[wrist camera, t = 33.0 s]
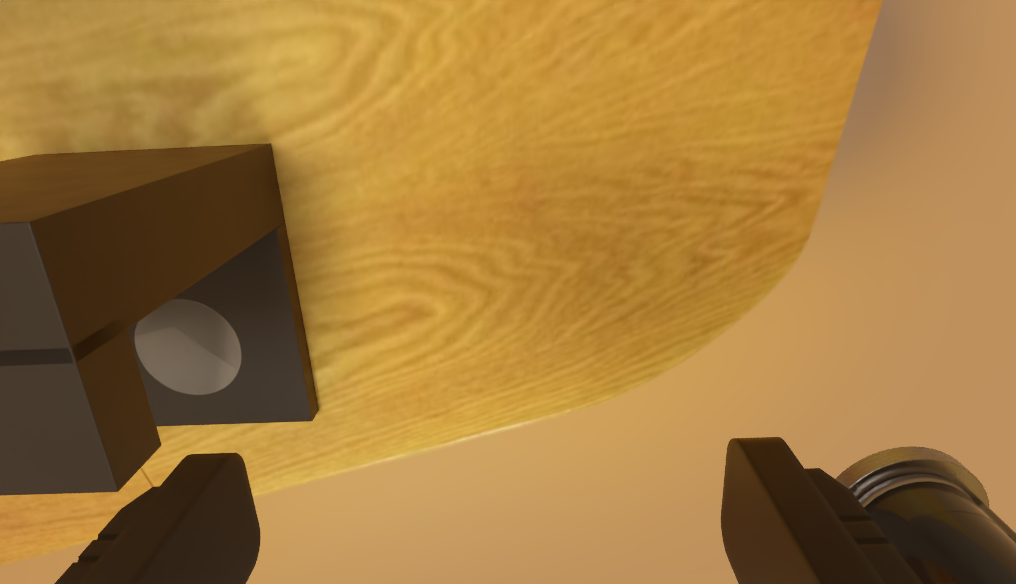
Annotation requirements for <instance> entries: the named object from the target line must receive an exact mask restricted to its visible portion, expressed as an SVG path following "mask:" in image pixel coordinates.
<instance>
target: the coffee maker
mask: <svg viewBox="0 0 1016 584" xmlns="http://www.w3.org/2000/svg"><path fill="white" fill-rule="evenodd" d="M284 222H285V220H284V215H283V209H282V204H281V198H280V193H279V187H278V182H277V176H276V170H275V165H274V159H273V154H272V148H271V144H252V145H231V146H210V147H190V148H169V149H148V150H127V151H106V152H85V153H64V154H43V155H32V156H27V157H21V158H16V159H11V160H6V161H0V495H28V494H61V493H95V492H118V491H119V490H120V489H121V488H122V487H123V486H124V485H125V484H126V483H127V482H128V480H129V479H130V478H131V477H132V476H133V475H134V474H135V473H136V472H137V471H138V470H139V469H140V468H141V467H142V466H143V464H144V463H145V462H146V461H147V460H148V459H149V458H150V457H151V456H152V455H153V454H154V453H155V452H156V451H157V449H158V448H159V447H160V446H161V442H160V438H159V435H158V431H157V428H156V426H179V425H209V424H239V423H269V422H299V421H313V419H314V417H315V415H316V414H317V412H318V410H319V409H318V404H317V398H316V393H315V387H314V382H313V376H312V371H311V365H310V359H309V354H308V348H307V343H306V337H305V332H304V326H303V320H302V315H301V309H300V304H299V298H298V293H297V287H296V281H295V276H294V270H293V265H292V259H291V254H290V248H289V243H288V237H287V231H286V226H285V223H284Z"/></svg>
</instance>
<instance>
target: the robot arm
mask: <svg viewBox="0 0 1016 584" xmlns="http://www.w3.org/2000/svg"><path fill="white" fill-rule="evenodd" d="M721 529H722V536H723V542H724V547H725V551H726V554H727V556H728V559H729V561H730V564H731V566H732V569H733V571H734V573H735V576H736V578H737V581H738V583H739V584H1016V533H1015V532H1014V531H1013V530H1012V529H1011V528H1010V527H1009V526H1008V525H1006V524H1005V523H1004V522H1003V521H1002V520H1001V519H1000V518H999V517H998V516H997V515H996V514H995V513H994V512H993V511H992V510H991V509H989V507H987V506H986V505H985V504H984V503H983V502H982V501H981V500H980V499H977V498H971V497H970V496H969V495H968V494H967V493H966V492H965V491H964V490H963V489H962V488H961V487H959V486H958V485H957V484H955V483H954V482H952V481H950V480H948V479H946V478H943V477H940V476H936V475H930V474H912V475H905V476H901V477H897V478H894V479H891V480H888V481H886V482H884V483H881V484H879V485H878V486H876V487H874V488H873V489H871V490H870V491H868V492H867V493H866V494H865V495H863V496H862V497H861V498H860V499H859V500H858V499H857V498H856V497H855V495H854V494H853V493H852V492H851V490H850V489H848V488H847V487H845V486H844V485H843V484H841V483H840V482H838V481H837V480H835V479H834V478H832V477H831V476H830V475H828V474H827V473H825V472H824V471H823V470H821V469H820V468H814V469H804V468H803V466H802V465H801V464H800V462H799V461H798V459H797V458H796V456H795V455H794V454H793V452H792V451H791V449H790V448H789V446H788V445H787V444H786V442H785V441H784V440H783V439H782V438H780V437H767V438H734V439H731V440H730V442H729V444H728V447H727V455H726V466H725V477H724V488H723V499H722V510H721ZM259 547H260V527H259V522H258V518H257V514H256V510H255V505H254V501H253V497H252V493H251V488H250V484H249V480H248V476H247V471H246V467H245V464H244V461H243V459H242V457H241V456H240V455H239V454H237V453H216V454H191V455H188V456H186V457H185V458H184V459H183V460H182V461H181V462H180V463H179V464H178V466H177V467H176V468H175V469H174V470H173V472H172V473H171V474H170V475H169V476H168V477H167V479H166V480H165V481H164V482H163V483H162V485H161V486H160V487H152V488H151V489H149V490H148V491H146V492H145V493H144V494H142V495H141V496H139V497H138V498H136V499H135V500H133V501H132V502H131V503H129V504H128V505H126V506H125V507H123V508H122V509H121V510H120V511H119V512H118V513H117V514H116V515H115V516H114V518H113V519H112V520H111V521H110V522H109V523H108V524H107V525H106V527H105V528H104V529H103V530H102V531H101V532H100V533H99V534H98V539H97V540H93V541H92V542H91V543H90V545H89V546H88V547H87V548H86V549H85V550H84V551H83V552H82V554H81V555H80V556H79V560H78V562H77V563H73V564H72V565H71V566H70V567H69V568H68V569H67V570H66V572H65V573H64V574H63V575H62V576H61V577H60V578H59V579H58V580H57V582H56V583H55V584H246V582H247V580H248V578H249V576H250V574H251V572H252V570H253V568H254V566H255V564H256V561H257V557H258V552H259Z"/></svg>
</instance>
